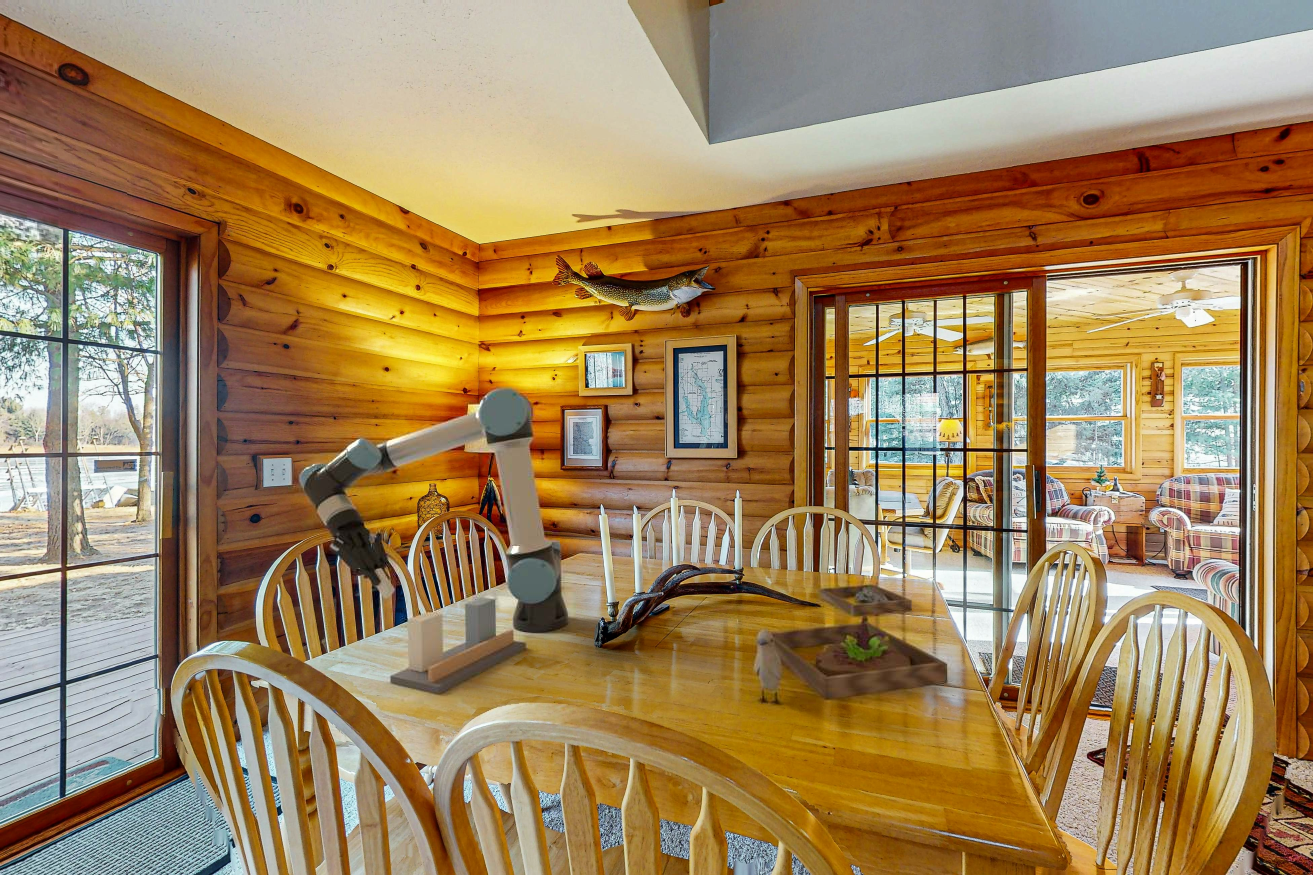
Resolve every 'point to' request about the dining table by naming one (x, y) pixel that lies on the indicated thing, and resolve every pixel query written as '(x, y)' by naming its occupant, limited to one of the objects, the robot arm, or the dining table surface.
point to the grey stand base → (460, 664)
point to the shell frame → (894, 605)
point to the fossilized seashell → (870, 596)
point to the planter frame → (917, 675)
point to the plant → (860, 655)
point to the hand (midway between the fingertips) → (389, 594)
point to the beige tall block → (425, 641)
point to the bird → (767, 664)
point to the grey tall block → (480, 621)
